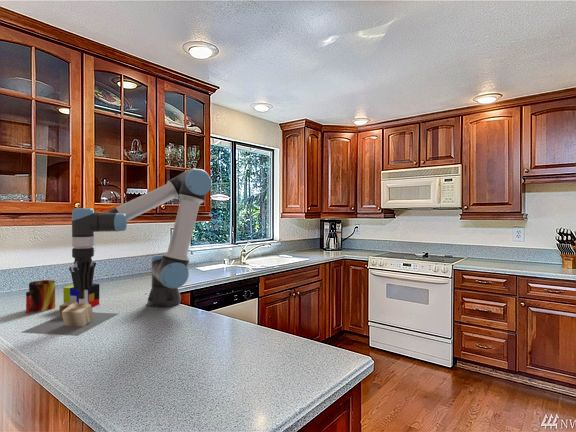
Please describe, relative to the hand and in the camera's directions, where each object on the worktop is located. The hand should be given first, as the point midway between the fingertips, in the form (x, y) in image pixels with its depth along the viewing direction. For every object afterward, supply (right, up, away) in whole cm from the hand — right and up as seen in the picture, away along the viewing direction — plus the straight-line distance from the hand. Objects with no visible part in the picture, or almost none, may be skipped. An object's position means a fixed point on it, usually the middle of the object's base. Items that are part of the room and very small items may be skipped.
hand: (83, 306), depth 144 cm
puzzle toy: (-12, -6, +20) cm, 24 cm away
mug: (-27, -6, +15) cm, 31 cm away
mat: (-3, -6, -1) cm, 7 cm away
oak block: (0, -2, 0) cm, 2 cm away
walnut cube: (-10, -6, +7) cm, 13 cm away
